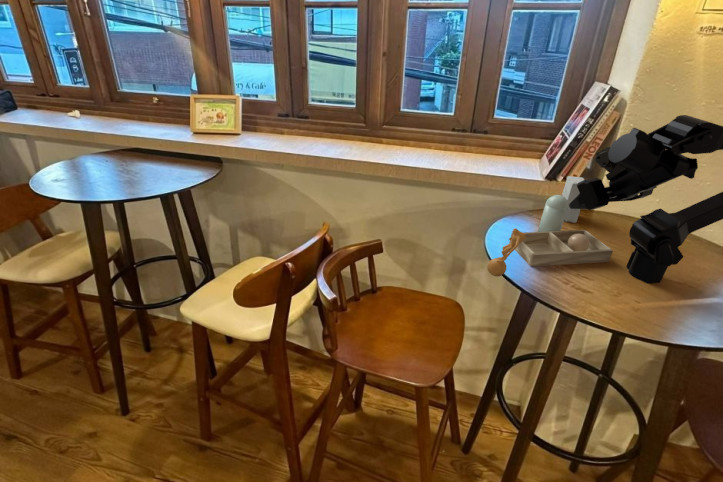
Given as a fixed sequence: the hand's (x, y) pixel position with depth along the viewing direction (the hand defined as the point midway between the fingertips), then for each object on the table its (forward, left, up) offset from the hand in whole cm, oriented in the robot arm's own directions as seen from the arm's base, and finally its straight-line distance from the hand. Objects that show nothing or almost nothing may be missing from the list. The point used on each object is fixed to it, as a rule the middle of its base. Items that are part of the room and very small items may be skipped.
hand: (583, 203), depth 94 cm
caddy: (-2, +5, -12) cm, 14 cm away
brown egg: (-2, 0, -12) cm, 12 cm away
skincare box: (+16, -9, -13) cm, 22 cm away
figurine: (-9, +23, -13) cm, 27 cm away
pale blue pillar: (+7, +2, -12) cm, 14 cm away
